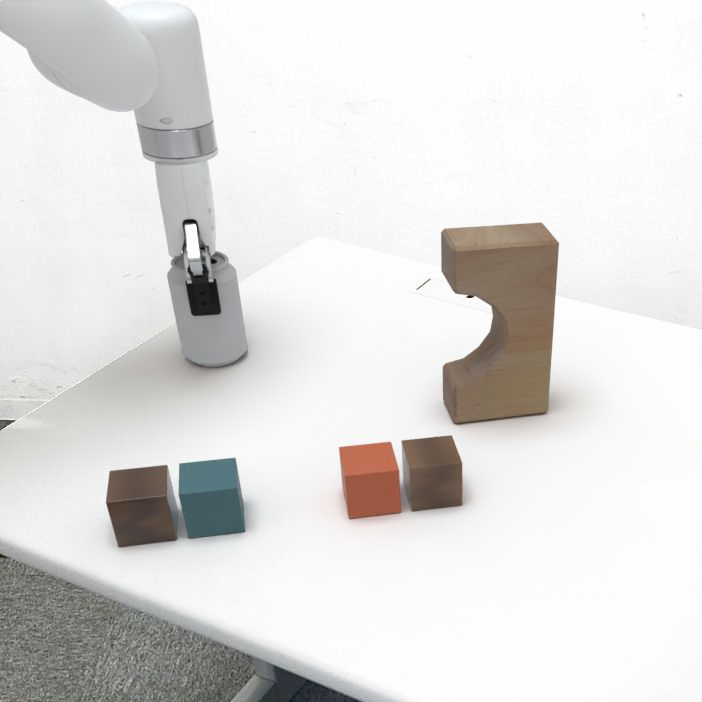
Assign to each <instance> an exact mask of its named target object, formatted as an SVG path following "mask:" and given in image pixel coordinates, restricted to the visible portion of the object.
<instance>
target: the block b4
mask: <svg viewBox="0 0 702 702" xmlns="http://www.w3.org/2000/svg"><path fill="white" fill-rule="evenodd" d="M401 461H402V483H403V486H404V489H405V493H406V496H407V500H408V503H409V507H410V510H411V512H416V511H425V510H433V509H439V508H441V509H442V508H449V507H457V506H463V461H462V458H461V455H460V452H459V450H458V448H457V445H456V443H455V440H454V438H453V435H451V434H449V435H441V436H431V437H421V438H412V439H411V438H410V439H401Z"/></svg>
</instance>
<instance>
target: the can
mask: <svg viewBox="0 0 702 702" xmlns="http://www.w3.org/2000/svg"><path fill="white" fill-rule="evenodd" d="M200 252H206V251H205V250H200ZM187 253H188V252H187ZM210 258H211V265H212V272H213V279H216V282H217V288H218V294H219V300H220V306H221V313H220V314H219V315H206V316H193V315H192V314H191V310H190V304H189V299H188V294H187V288H186V283H185V280H187V279H186V273H185V266H184V259H183V252H181V255H180V256H176V258H172V259H171V260H170V266H171V268H170V269H169V270H168V271H167V273H166V275H167V276H166V279H167V283H168V289H169V294H170V298H171V303H172V308H173V314H174V319H175V324H176V328H177V334H178V338H179V345H180V349H181V353H182V355H183V356H184V357H185V358H186V359H187V360H190V362H192V363H194V364H195V363H196V364H195V365H197V366H201V365H202V366H201V367H206V368H207V367H208V368H217V367H224V366H228V365H231V364H233V363H235V362H237V361H238V360H240V359H241V357H242V356H243V355H245V354H246V352H247V350H248V339H247V333H246V326H245V319H244V314H243V307H242V301H241V293H240V288H239V280H238V273H237V269H236V267H234V265H233V264H232V263H230V261H229V260H230V259H229V257H228V256H227V255H226V254H225V253H223V252H221V251H218V250H216V252H215V253H214V254H213V255H212V256H211V257H210ZM201 260H202V264H205V265H206V261H204V260H205V259H201Z"/></svg>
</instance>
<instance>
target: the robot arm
mask: <svg viewBox="0 0 702 702" xmlns="http://www.w3.org/2000/svg"><path fill="white" fill-rule="evenodd" d="M0 32H1V33H2V34H4V35H5V36H7V37H8V38H9V39H11V40H13V42H16V43H17V44H19V46H21V47H22V48H24V49H26V51H27V54H28V56H29V59H30V61H31V62H32V65H33V66H34V67H35V69H36V70H37V71H38V72H39V73H40V75H41V76H42V77H44V78H45V79H46V80H47V81H48V82H50V83H52V84H53V85H55V86H56V87H58V88H60V89H62V90H64V91H66V92H68V93H70V94H72V95H75V96H76V97H79V98H81V99H84V100H85V101H88V102H90V103H92V104H94V105H96V106H98V107H100V108H102V109H105V110H106V111H110V112H116V113H126V112H132V111H133V114H134V118H135V122H136V124H135V125H136V129H137V133H138V139H139V143H140V148H141V152H142V157H143V158H144V159H146V161H149V162H152V163H154V172H155V180H156V186H157V192H158V199H159V204H160V210H161V215H162V221H163V227H164V232H165V237H166V245H167V252H168V255H169V256H170V258H172V259H173V258H176V256H180V255H181V253H183V259H184V266H185V273H186V279H187V280H185V283H186V288H187V294H188V299H189V304H190V310H191V314H192V315H193V316H206V315H219V314H220V313H221V306H220V300H219V294H218V288H217V282H216V279H213V272H212V265H211V258H210V257H211V256H212V255H213V254H214V253H215V252H216V251H217V248H216V246H217V245H216V240H217V239H216V235H217V233H216V232H217V231H216V227H217V226H216V213H215V202H214V194H213V187H212V180H211V174H210V167H209V160H211V159H213V158H215V157H216V156H218V155H219V148H218V142H217V135H216V128H215V122H214V113H213V108H212V101H211V96H210V89H209V83H208V76H207V68H206V63H205V62H206V61H205V56H204V50H203V49H204V48H203V44H202V42H203V41H202V36H201V30H200V25H199V21H198V18H197V16H196V14H195V13H194V12H193V10H192V8H190V7H188V6H187V5H186V4H182V3H179V2H174V1H166V0H165V1H164V0H163V1H162V0H145V1H136V2H131V3H128V4H125V5H123V6H112V4H110V2H108V1H107V0H0ZM200 250H205V251H206V252H200ZM187 252H188V253H187ZM201 259H205V260H204V261H206V265H205V264H202V260H201Z"/></svg>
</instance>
